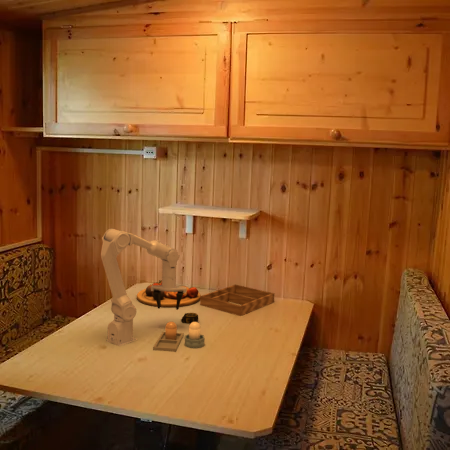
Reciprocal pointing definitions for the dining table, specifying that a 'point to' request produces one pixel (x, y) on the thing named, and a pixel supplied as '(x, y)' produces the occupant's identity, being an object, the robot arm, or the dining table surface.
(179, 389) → the dining table surface
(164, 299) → the wooden plate with food
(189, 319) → the tape measure
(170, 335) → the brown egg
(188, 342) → the octagonal bowl
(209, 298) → the wooden compartment tray
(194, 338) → the tan rounded cylinder
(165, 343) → the divided tray
